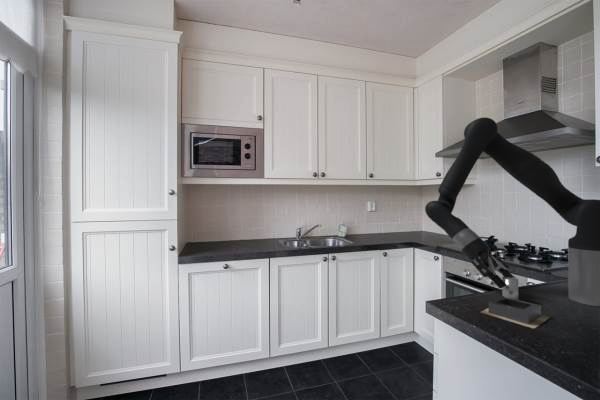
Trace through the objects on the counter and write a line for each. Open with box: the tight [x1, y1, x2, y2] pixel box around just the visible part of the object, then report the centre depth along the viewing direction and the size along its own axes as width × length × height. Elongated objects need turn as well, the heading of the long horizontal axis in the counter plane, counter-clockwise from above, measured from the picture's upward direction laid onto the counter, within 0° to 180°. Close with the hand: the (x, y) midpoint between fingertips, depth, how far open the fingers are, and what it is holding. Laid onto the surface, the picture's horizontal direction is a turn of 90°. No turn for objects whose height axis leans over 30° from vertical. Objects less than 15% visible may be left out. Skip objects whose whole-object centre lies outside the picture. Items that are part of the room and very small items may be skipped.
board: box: [480, 307, 550, 329], centre depth 75 cm, size 12×12×1 cm
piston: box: [501, 276, 519, 300], centre depth 86 cm, size 4×4×8 cm
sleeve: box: [487, 295, 542, 325], centre depth 75 cm, size 9×9×3 cm
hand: (509, 284), depth 86 cm, fingers open, 8 cm apart
